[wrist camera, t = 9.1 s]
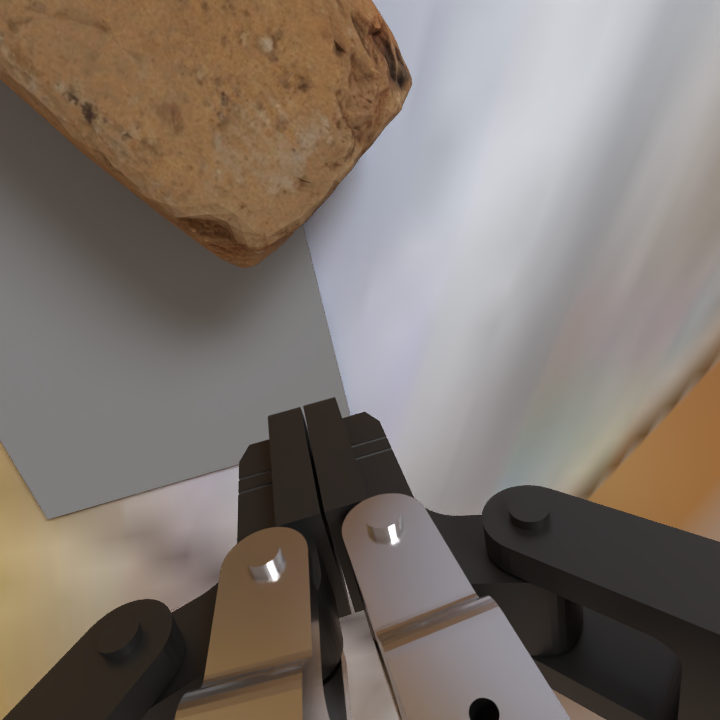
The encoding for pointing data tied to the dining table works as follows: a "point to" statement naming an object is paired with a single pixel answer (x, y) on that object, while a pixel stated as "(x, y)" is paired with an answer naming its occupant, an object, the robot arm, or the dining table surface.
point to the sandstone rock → (212, 102)
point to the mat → (136, 332)
